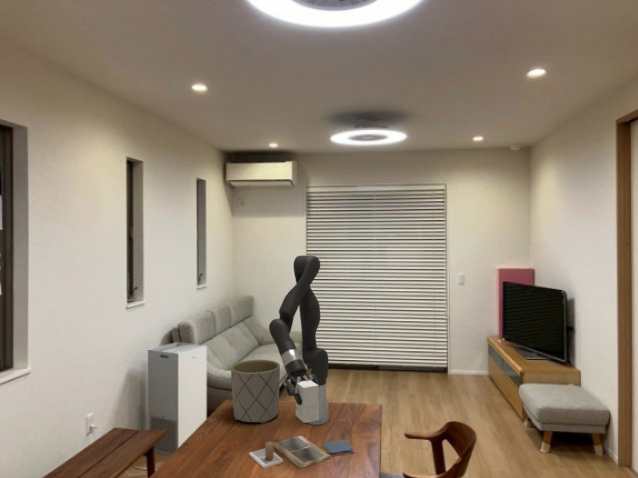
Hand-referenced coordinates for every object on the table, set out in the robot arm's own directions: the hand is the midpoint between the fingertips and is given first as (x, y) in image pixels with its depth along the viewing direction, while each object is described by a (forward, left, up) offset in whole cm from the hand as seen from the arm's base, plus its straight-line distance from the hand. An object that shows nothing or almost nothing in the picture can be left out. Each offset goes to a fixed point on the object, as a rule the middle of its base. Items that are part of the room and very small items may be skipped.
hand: (309, 402), depth 172 cm
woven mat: (-14, -1, -22) cm, 26 cm away
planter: (-2, -50, -22) cm, 54 cm away
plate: (+13, -10, -21) cm, 27 cm away
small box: (0, -1, -7) cm, 7 cm away
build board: (0, -7, -21) cm, 22 cm away
